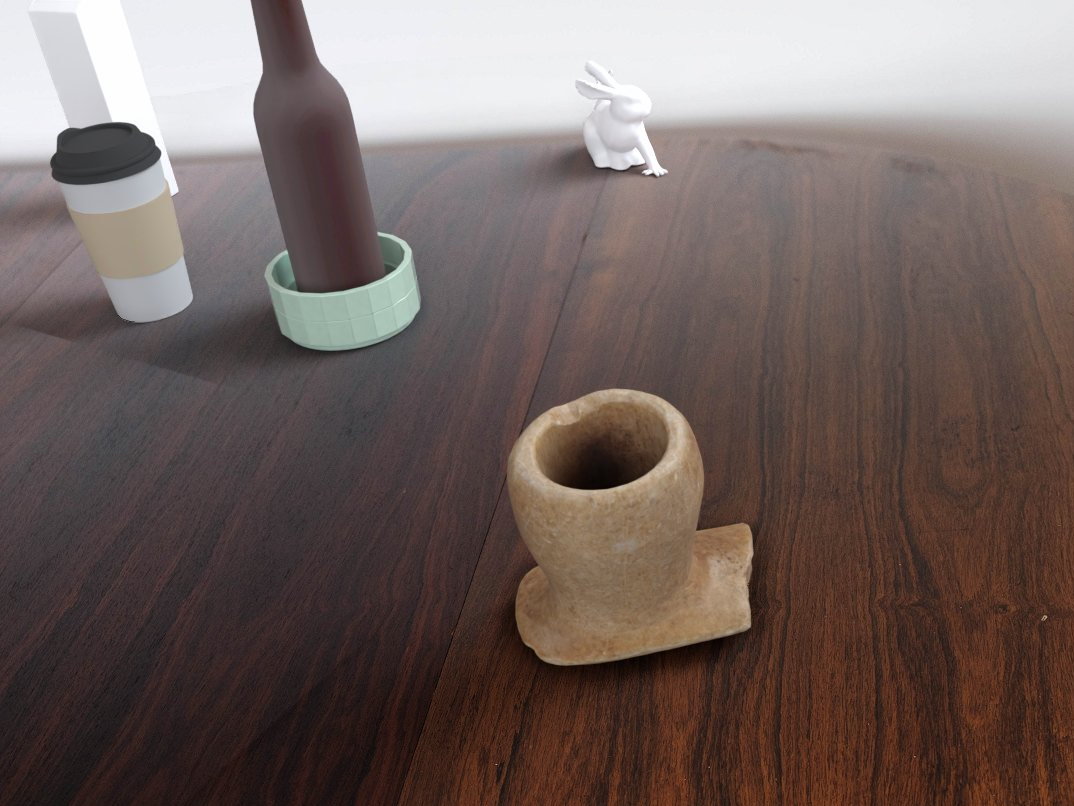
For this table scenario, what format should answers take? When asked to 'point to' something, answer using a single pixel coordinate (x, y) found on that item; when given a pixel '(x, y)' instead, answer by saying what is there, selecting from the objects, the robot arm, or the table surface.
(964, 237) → the table surface
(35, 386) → the table surface
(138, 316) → the coffee cup
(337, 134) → the beer bottle
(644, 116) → the rabbit figurine
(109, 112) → the milk
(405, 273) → the bowl
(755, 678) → the table surface
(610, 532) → the stone cup
